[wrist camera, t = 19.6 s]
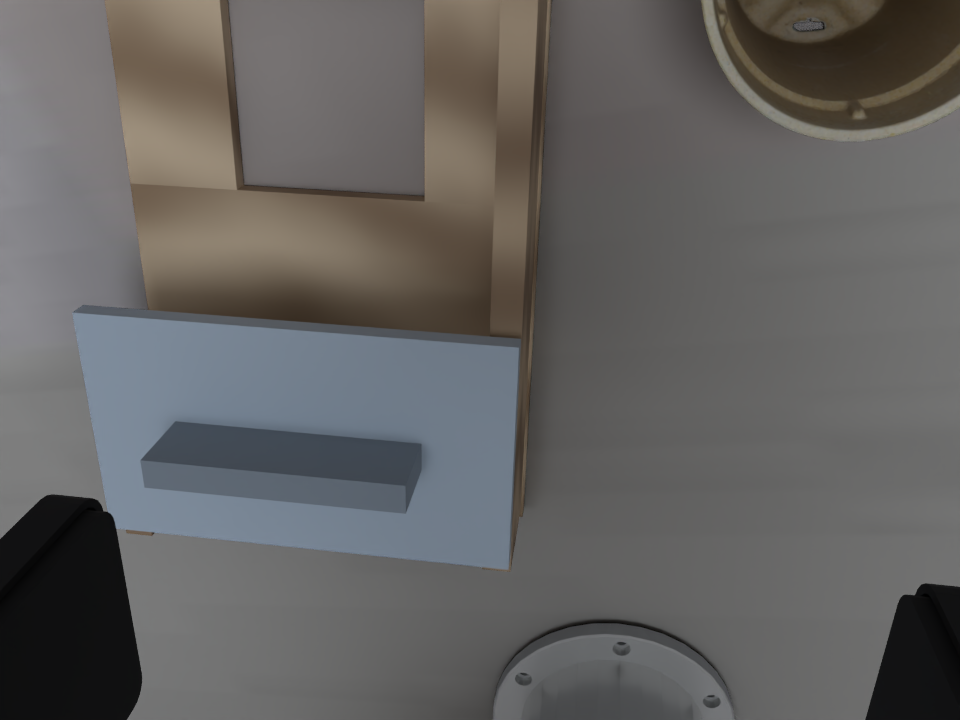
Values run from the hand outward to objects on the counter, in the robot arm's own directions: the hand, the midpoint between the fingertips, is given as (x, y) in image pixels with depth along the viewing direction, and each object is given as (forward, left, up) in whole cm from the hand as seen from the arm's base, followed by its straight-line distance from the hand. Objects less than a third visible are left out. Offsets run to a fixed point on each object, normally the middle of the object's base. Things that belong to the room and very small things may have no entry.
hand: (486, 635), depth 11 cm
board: (-5, +10, -28) cm, 30 cm away
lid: (-11, +10, -22) cm, 27 cm away
